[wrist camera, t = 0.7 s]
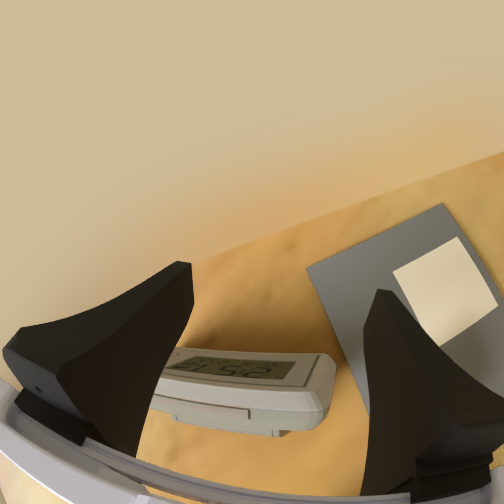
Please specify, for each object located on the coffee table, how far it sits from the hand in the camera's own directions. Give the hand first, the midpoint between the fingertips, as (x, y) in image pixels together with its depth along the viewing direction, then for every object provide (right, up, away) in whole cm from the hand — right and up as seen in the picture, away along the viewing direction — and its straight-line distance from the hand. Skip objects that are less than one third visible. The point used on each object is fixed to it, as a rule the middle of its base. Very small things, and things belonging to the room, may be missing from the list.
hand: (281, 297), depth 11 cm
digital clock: (-2, -10, +14) cm, 17 cm away
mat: (+14, -5, +11) cm, 19 cm away
